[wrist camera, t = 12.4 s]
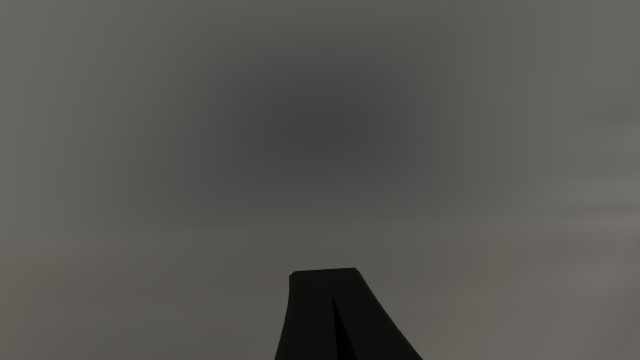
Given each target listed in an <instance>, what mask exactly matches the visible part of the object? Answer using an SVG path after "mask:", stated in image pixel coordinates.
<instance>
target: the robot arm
mask: <svg viewBox="0 0 640 360" xmlns="http://www.w3.org/2000/svg"><path fill="white" fill-rule="evenodd" d="M274 360H423V359H422V358H421V357H420V356H419V354H418V353H417V352H416V351H415V349H414V348H413V347H412V346H411V344H410V343H409V342H408V341H407V339H406V338H405V337H404V335H403V334H402V333H401V332H400V330H399V329H398V328H397V327H396V325H395V324H394V322H393V321H392V320H391V318H390V317H389V316H388V314H387V313H386V312H385V310H384V309H383V307H382V306H381V304H380V303H379V302H378V300H377V299H376V297H375V296H374V294H373V293H372V291H371V290H370V288H369V287H368V285H367V283H366V282H365V280H364V279H363V277H362V275H361V274H360V272H359V271H358V270H357V269H356V268H339V269H324V270H308V271H295V272H293V273H292V274H291V275H290V276H289V299H288V306H287V311H286V317H285V322H284V326H283V330H282V334H281V337H280V341H279V345H278V349H277V353H276V356H275V359H274Z"/></svg>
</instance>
